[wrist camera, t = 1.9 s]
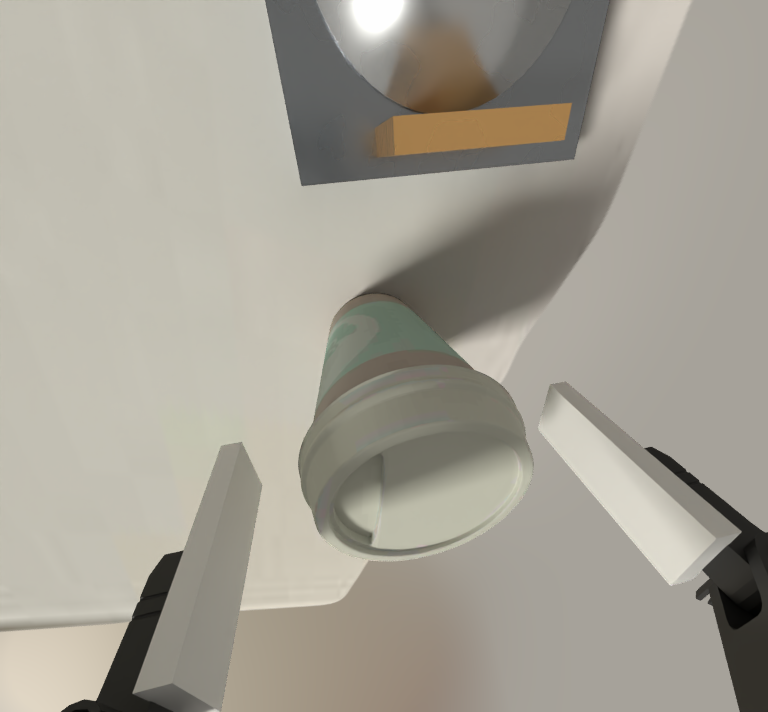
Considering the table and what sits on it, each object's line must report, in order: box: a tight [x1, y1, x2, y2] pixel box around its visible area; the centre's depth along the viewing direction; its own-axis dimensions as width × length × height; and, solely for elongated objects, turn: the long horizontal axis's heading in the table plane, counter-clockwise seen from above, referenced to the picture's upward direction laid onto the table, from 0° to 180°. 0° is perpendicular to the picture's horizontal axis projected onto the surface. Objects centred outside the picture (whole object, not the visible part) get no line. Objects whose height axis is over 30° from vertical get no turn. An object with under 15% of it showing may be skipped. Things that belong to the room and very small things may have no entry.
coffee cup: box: [298, 294, 534, 561], centre depth 15 cm, size 9×9×12 cm
